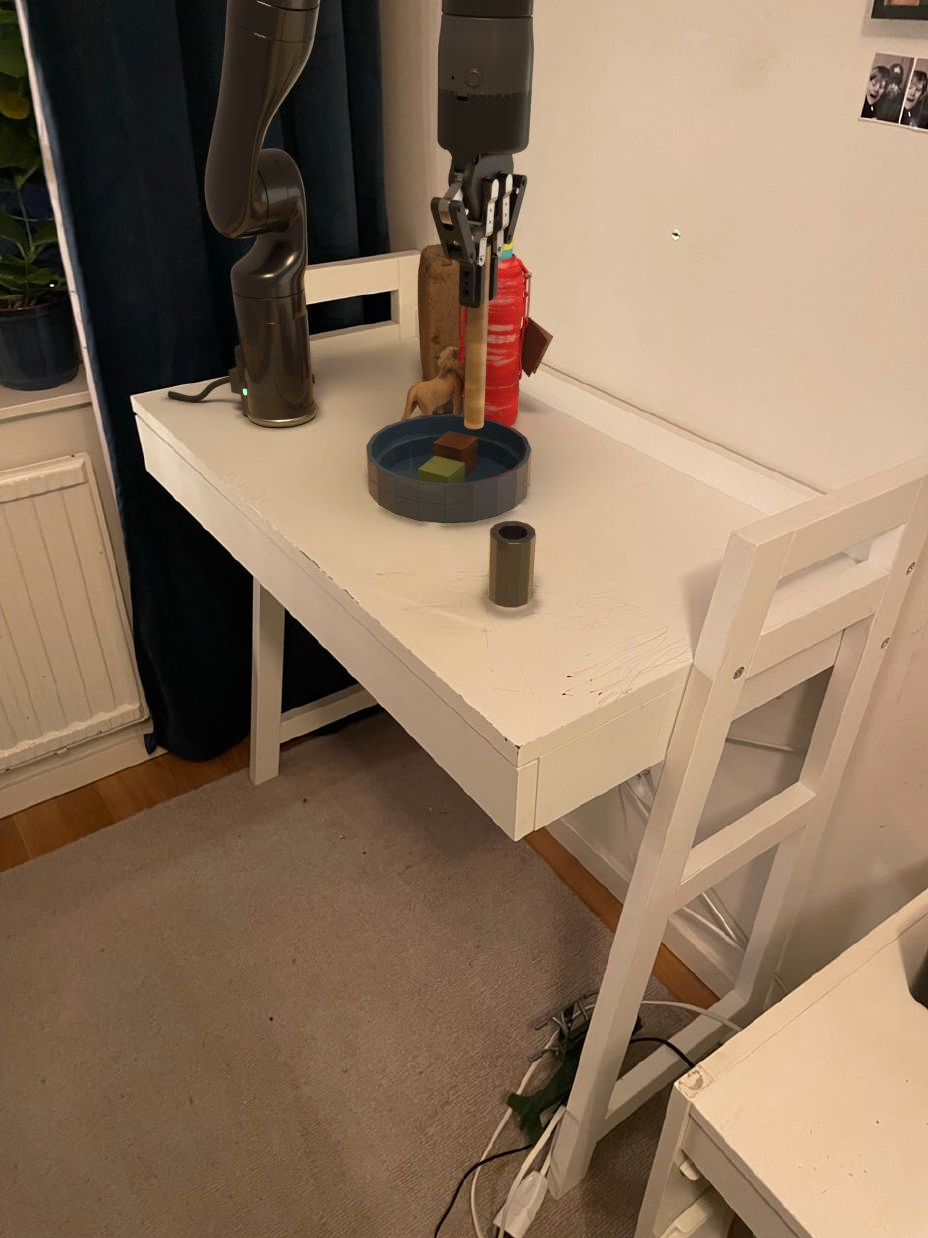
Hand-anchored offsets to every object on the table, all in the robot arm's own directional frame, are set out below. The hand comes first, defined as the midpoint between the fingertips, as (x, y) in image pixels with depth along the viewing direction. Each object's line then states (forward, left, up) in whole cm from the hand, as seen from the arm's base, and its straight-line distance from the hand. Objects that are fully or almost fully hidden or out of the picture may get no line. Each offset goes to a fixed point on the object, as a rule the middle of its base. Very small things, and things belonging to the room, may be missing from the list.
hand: (477, 301), depth 84 cm
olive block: (-9, +9, -26) cm, 29 cm away
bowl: (-10, +12, -27) cm, 31 cm away
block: (-26, +40, -27) cm, 55 cm away
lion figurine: (-21, +28, -27) cm, 44 cm away
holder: (+7, -6, -27) cm, 29 cm away
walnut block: (-11, +16, -26) cm, 33 cm away
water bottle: (-13, +32, -27) cm, 44 cm away
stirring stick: (0, 0, -12) cm, 12 cm away
